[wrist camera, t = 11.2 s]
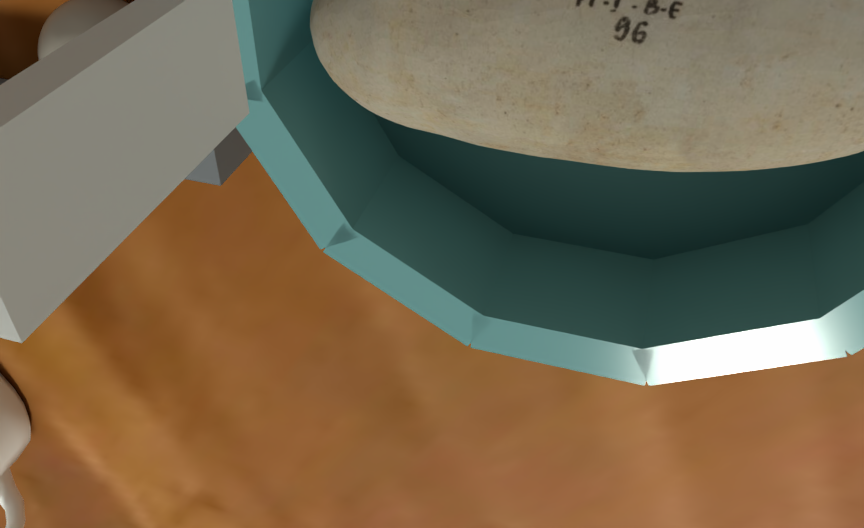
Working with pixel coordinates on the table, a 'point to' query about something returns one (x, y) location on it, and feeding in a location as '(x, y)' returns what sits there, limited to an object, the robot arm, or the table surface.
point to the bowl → (559, 233)
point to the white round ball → (74, 22)
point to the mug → (12, 450)
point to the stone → (610, 76)
